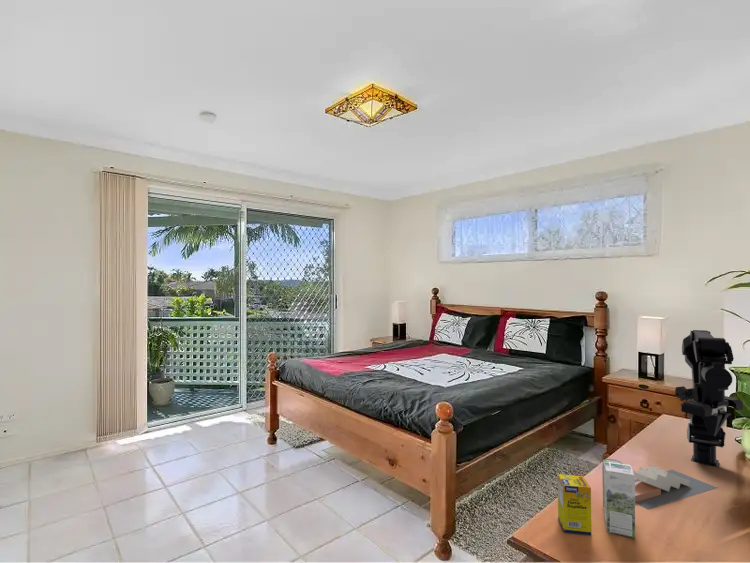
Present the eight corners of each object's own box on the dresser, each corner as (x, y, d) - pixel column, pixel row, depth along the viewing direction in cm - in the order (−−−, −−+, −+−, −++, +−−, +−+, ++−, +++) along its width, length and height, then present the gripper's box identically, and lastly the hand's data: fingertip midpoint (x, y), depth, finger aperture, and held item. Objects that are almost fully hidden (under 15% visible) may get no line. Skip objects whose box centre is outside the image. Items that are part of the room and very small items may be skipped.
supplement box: (592, 536, 93) (591, 487, 93) (563, 533, 94) (563, 485, 94) (584, 521, 99) (583, 475, 99) (557, 518, 100) (557, 473, 100)
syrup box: (632, 525, 97) (631, 463, 97) (636, 539, 91) (634, 474, 91) (604, 519, 99) (603, 459, 99) (606, 533, 94) (605, 469, 94)
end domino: (642, 480, 114) (616, 487, 110) (660, 488, 109) (634, 496, 106) (642, 486, 114) (616, 493, 110) (660, 494, 109) (634, 502, 106)
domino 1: (652, 477, 116) (629, 468, 112) (670, 485, 111) (647, 476, 108) (650, 483, 115) (627, 474, 112) (669, 491, 111) (645, 482, 107)
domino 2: (661, 475, 117) (639, 466, 114) (680, 483, 112) (657, 474, 109) (660, 481, 117) (638, 472, 113) (679, 489, 112) (656, 480, 109)
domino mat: (672, 471, 124) (671, 469, 124) (717, 489, 113) (717, 487, 113) (605, 489, 114) (605, 487, 114) (648, 511, 102) (648, 509, 102)
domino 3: (671, 473, 119) (649, 464, 115) (689, 480, 114) (667, 471, 111) (669, 478, 118) (647, 469, 115) (688, 486, 114) (666, 477, 110)
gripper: (700, 372, 129) (701, 422, 129) (661, 378, 122) (662, 431, 122) (743, 380, 119) (744, 434, 118) (703, 386, 112) (704, 444, 111)
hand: (712, 435), depth 118 cm, fingers closed
